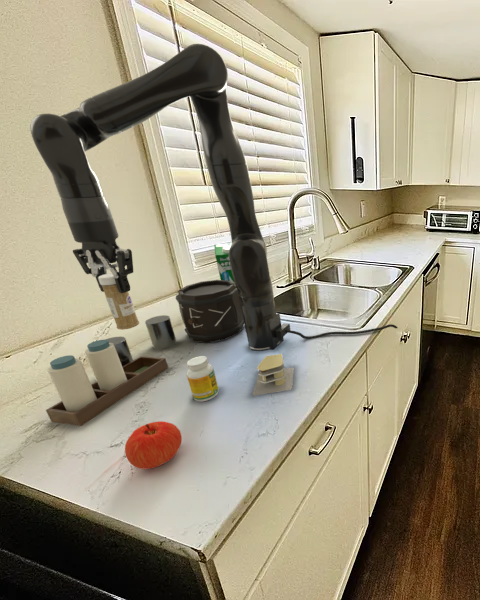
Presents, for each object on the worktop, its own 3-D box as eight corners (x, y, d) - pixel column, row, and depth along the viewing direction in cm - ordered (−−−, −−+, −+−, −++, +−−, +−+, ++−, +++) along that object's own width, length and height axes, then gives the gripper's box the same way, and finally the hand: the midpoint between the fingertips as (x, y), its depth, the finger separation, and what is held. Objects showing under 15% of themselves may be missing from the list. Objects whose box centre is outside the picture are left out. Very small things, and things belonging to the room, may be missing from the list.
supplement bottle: (194, 391, 79) (184, 357, 75) (219, 385, 81) (211, 352, 77) (192, 405, 74) (181, 369, 71) (219, 398, 76) (209, 363, 73)
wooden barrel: (171, 342, 102) (157, 295, 96) (213, 318, 118) (203, 277, 113) (220, 347, 98) (208, 299, 93) (257, 322, 115) (248, 280, 109)
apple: (120, 478, 56) (105, 442, 53) (153, 442, 64) (141, 409, 61) (166, 477, 56) (153, 442, 53) (194, 442, 64) (183, 409, 61)
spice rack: (168, 369, 88) (165, 358, 86) (81, 427, 68) (75, 414, 66) (144, 366, 89) (141, 355, 88) (52, 423, 69) (45, 410, 68)
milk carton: (228, 314, 122) (213, 248, 113) (227, 306, 129) (214, 244, 120) (254, 310, 126) (242, 246, 117) (252, 302, 133) (240, 241, 124)
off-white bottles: (135, 386, 80) (117, 338, 75) (82, 420, 69) (57, 367, 64) (118, 384, 81) (99, 337, 76) (63, 417, 70) (37, 365, 65)
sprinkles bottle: (139, 327, 81) (121, 275, 76) (115, 332, 78) (95, 278, 73) (140, 320, 84) (123, 270, 79) (118, 325, 82) (99, 274, 77)
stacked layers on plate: (258, 372, 86) (255, 354, 84) (293, 367, 88) (291, 349, 86) (252, 395, 77) (248, 376, 75) (291, 389, 79) (288, 370, 77)
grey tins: (181, 342, 102) (174, 316, 99) (120, 379, 84) (108, 348, 81) (165, 340, 103) (157, 314, 100) (101, 376, 85) (88, 346, 82)
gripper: (133, 216, 74) (155, 287, 80) (82, 216, 76) (107, 285, 83) (99, 221, 67) (126, 298, 73) (44, 220, 69) (75, 295, 76)
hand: (116, 291), depth 78 cm, fingers closed on sprinkles bottle, 4 cm apart
